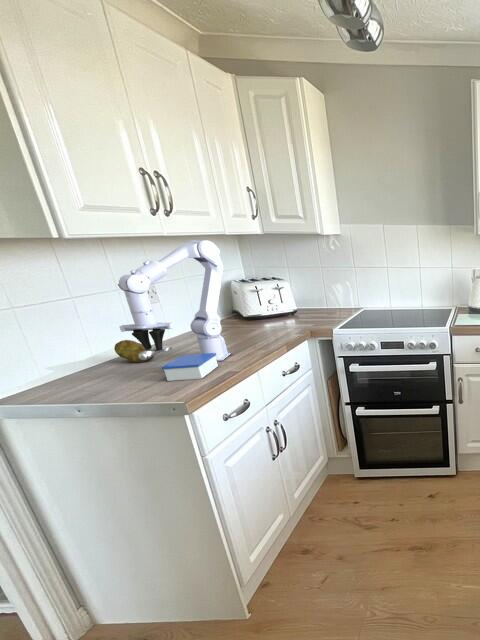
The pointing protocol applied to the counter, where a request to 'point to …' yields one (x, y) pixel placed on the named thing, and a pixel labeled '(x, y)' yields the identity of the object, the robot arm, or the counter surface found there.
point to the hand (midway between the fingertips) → (154, 350)
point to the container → (190, 366)
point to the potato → (130, 350)
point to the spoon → (153, 352)
